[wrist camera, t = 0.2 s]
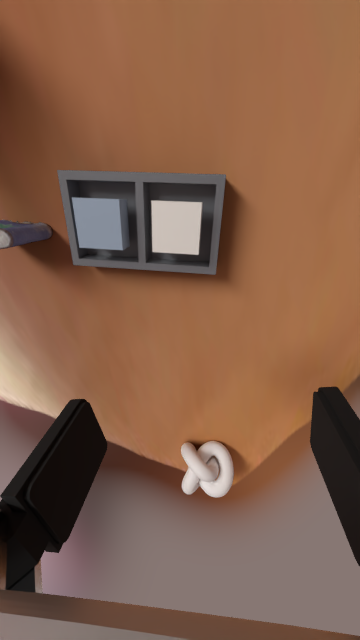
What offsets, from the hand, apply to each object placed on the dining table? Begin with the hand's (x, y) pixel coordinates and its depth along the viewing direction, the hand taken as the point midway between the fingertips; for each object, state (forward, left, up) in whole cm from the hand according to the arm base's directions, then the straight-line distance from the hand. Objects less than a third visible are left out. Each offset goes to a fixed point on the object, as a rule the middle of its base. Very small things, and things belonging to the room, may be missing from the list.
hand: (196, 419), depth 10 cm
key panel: (-5, -9, -30) cm, 32 cm away
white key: (-5, -4, -27) cm, 28 cm away
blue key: (-5, -14, -27) cm, 31 cm away
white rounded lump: (+45, +3, -30) cm, 54 cm away
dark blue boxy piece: (-3, -29, -30) cm, 42 cm away
